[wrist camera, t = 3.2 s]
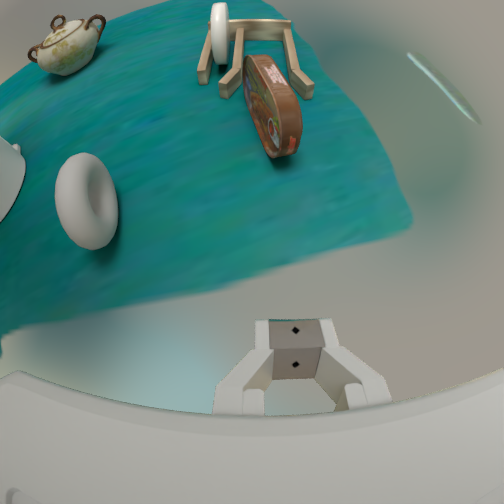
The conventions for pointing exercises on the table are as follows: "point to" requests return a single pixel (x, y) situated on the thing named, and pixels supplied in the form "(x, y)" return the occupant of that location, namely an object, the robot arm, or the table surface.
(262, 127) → the tin
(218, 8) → the racked plate
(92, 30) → the sugar bowl
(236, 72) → the rack
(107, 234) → the donut
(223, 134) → the table surface
